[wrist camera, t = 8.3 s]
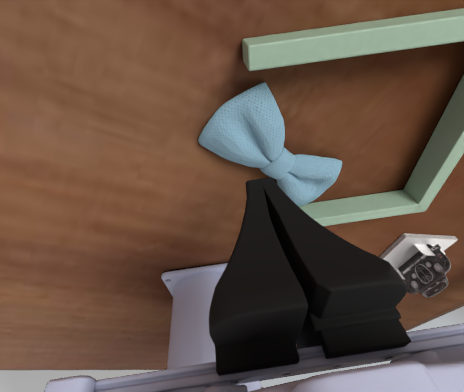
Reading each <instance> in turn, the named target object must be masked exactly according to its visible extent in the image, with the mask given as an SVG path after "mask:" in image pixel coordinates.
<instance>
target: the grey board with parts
mask: <svg viewBox="0 0 464 392" xmlns="http://www.w3.org/2000/svg"><path fill="white" fill-rule="evenodd" d="M457 240H458V239H457V238H456V237H455V236H441V235H424V234H406V233H403V234H402V235H401V236H400V237H399V238H398V239H397V240H396V241H395V242H394V243H393V244H392V245H391V246H390V247H389V248H388V249H387V250H386V251H385V252H384V253H383V254H382V255H381V256H380V257H379V258H381V259H384V260H386V261H388V262H389V263H390V264H391V265H392V266H393V267H394V269H395V270H396V271H397V272H398V274H399V275H400V276H401V278H402V279H403V281H404V282H405V284H406V285H407V292H408V293H410V294H416V293H417V292H418V293H420V294H422V295H423V296H425V297H426V298H430V297H432V296H435V295H436V294H438V293H440V292H441V291H443V290H444V289H445V288H446V287H447V286H448V280H447V277H446V272H448V271H449V270H450V268H451V263H450V261H449V259H448V258H447V256H446V255H445V253H444V250H446V249H447V248H448V247H449V246H451V245H452V244H453V243H455V242H456V241H457Z"/></svg>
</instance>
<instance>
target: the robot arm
mask: <svg viewBox="0 0 464 392" xmlns="http://www.w3.org/2000/svg"><path fill="white" fill-rule="evenodd" d="M246 193H247V200H246V208H245V214H244V218H243V223H242V227H241V230H240V233H239V237H238V239H237V242H236V245H235V248H234V250H233V253H232V255H231V257H230V259H229V261H228V263H224V264H218V265H211V266H204V267H197V268H191V269H184V270H177V271H170V272H165V273H163V274H162V277H161V278H162V280H163V282H164V283H165V285H166V287H167V288H168V290H169V292H170V293H171V295H172V296H173V305H172V317H171V329H170V341H169V353H168V365H167V369H166V370H160V371H154V372H147V373H141V374H134V375H128V376H121V377H116V378H108V379H102V380H95V379H94V378H93V377H90V376H73V377H67V378H61V379H54V380H50V381H49V382H48V383H47V385H46V387H45V390H44V392H464V323H463V324H457V325H451V326H443V327H437V328H431V329H424V330H418V331H412V332H406V331H405V330H404V328H403V326H402V325H401V323H400V321H399V320H398V319H400V318H401V316H400V314H399V312H398V310H397V309H396V305H397V304H398V303H399V302H400V301H401V300H402V298H403V297H404V296H405V294H406V293H407V285H406V284H405V282H404V281H403V279H402V278H401V276H400V275H399V274H398V272H397V271H396V270H395V269H394V267H393V266H392V265H391V264H390V263H389V262H388V261H386V260H384V259H381V258H379V257H377V256H375V255H373V254H371V253H368V252H366V251H364V250H362V249H360V248H358V247H356V246H355V245H353V244H351V243H349V242H347V241H345V240H344V239H342V238H341V237H339V236H337V235H336V234H334V233H332V232H331V231H329V230H328V229H326V228H325V227H323V226H322V225H321V224H319V223H318V222H317V221H315V220H314V219H313V218H311V217H310V216H309V215H308V214H307V213H305V212H304V211H303V210H302V209H301V208H300V207H299V206H298V205H296V204H295V203H294V202H293V201H292V200H291V199H290V198H289V197H288V196H287V195H286V194H285V193H284V191H283V190H282V189H281V188H280V187H279V186H278V185H277V184H276V182H275V181H274V180H273V179H272V178H271V177H270V178H264V179H257V180H250V181H247V182H246ZM296 344H297V347H296ZM390 360H392V361H391V362H390V363H389V364H382V365H376V366H370V367H363V368H357V369H350V370H344V371H338V372H331V373H326V374H321V375H316V376H312V377H309V378H307V379H302V380H298V381H293V382H289V383H284V384H280V385H275V386H271V387H266V388H262V387H261V384H260V381H262V380H268V379H274V378H281V377H287V376H294V375H300V374H306V373H313V372H319V371H326V370H332V369H339V368H345V367H351V366H358V365H364V364H371V363H376V362H383V361H390Z"/></svg>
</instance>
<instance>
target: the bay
mask: <svg viewBox="0 0 464 392" xmlns="http://www.w3.org/2000/svg"><path fill="white" fill-rule="evenodd" d="M462 41H464V8H462V9H455V10H448V11H441V12H433V13H426V14H419V15H412V16H405V17H397V18H390V19H383V20H376V21H368V22H361V23H354V24H347V25H340V26H332V27H325V28H318V29H311V30H303V31H296V32H289V33H282V34H275V35H267V36H260V37H253V38H246V39H243V40H242V49H243V61H244V63H245V65H246V67H247V68H248V70H249V71H255V70H262V69H269V68H277V67H284V66H291V65H298V64H305V63H312V62H319V61H327V60H334V59H341V58H348V57H355V56H362V55H369V54H377V53H384V52H391V51H398V50H405V49H412V48H419V47H427V46H434V45H441V44H448V43H455V42H462ZM463 153H464V74H463V76H462V78H461V80H460V82H459V84H458V86H457V88H456V90H455V92H454V94H453V96H452V97H451V99H450V101H449V103H448V105H447V107H446V109H445V111H444V113H443V115H442V117H441V119H440V121H439V122H438V124H437V126H436V128H435V130H434V132H433V134H432V136H431V138H430V140H429V142H428V144H427V145H426V147H425V149H424V151H423V153H422V155H421V157H420V159H419V161H418V163H417V165H416V167H415V168H414V170H413V172H412V174H411V176H410V178H409V180H408V182H407V184H406V186H405V188H404V190H397V191H390V192H384V193H377V194H370V195H363V196H356V197H350V198H343V199H336V200H329V201H322V202H315V203H309V204H306V205H303V206H299V207H300V208H301V209H302V210H303V211H304V212H305V213H307V214H308V215H309V216H310V217H311V218H313V219H314V220H315V221H317V222H318V223H319V224H321V225H322V226H328V225H335V224H341V223H348V222H355V221H362V220H369V219H375V218H382V217H389V216H396V215H402V214H409V213H417V212H424V211H426V209H427V208H428V206H429V205H430V203H431V202H432V200H433V199H434V197H435V196H436V194H437V193H438V191H439V190H440V188H441V187H442V185H443V184H444V182H445V181H446V179H447V178H448V176H449V175H450V173H451V172H452V170H453V168H454V167H455V165H456V164H457V162H458V161H459V159H460V158H461V156H462V155H463Z"/></svg>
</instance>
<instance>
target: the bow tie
mask: <svg viewBox="0 0 464 392" xmlns="http://www.w3.org/2000/svg"><path fill="white" fill-rule="evenodd" d="M284 140H285V127H284V120H283V117H282V115H281V113H280V110H279V108H278V106H277V103H276V101H275V99H274V97H273V95H272V93H271V91H270V89H269V88H268V86H267V84H266V82H264V83H261V84H258V85H256V86H254V87H252V88H250V89H248V90H246V91H244V92H242V93H241V94H239V95H237V96H236V97H234V98H232V99H231V100H229V101H227V102H226V103H225V104H223V105H222V106H221V107H220V108H219V109H218V110H217V111H216V112H215V114H214V115H213V116H212V118H211V119H210V120H209V122H208V123H207V125H206V126H205V127H204V129H203V131H202V133H201V135H200V136H199V140H198V142H199V143H200V144H201V145H202V146H204V147H205V148H207V149H209V150H210V151H212V152H214V153H216V154H217V155H219V156H221V157H223V158H225V159H227V160H230V161H233V162H236V163H239V164H242V165H245V166H249V167H257V168H259V169H260V170H261V171H262V172H263V173H264V174H266V175H268V176H270V177H272V178H274V179H276V180H277V184H278V186H279V187H280V188H281V189H282V190H283V191H284V193H285V194H286V195H287V196H288V197H289V198H290V199H291V200H292V201H293V202H294V203H295V204H296V205H298V206H303V205H306V204H308V203H310V202H312V201H313V200H315V199H316V198H318V197H319V196H320V195H321V194H322V193H323V192H324V191H325V190H326V189H328V188H329V187H330V186H331V185H332V184H333V183H334V182H335V181H336V179H337V177H338V175H339V173H340V170H341V166H342V161H340V160H338V159H335V158H326V157H319V156H311V155H302V154H298V155H293V154H292V153H290V152H289V151H288V150H287V149H286V148H284V147H283V146H284Z"/></svg>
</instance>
